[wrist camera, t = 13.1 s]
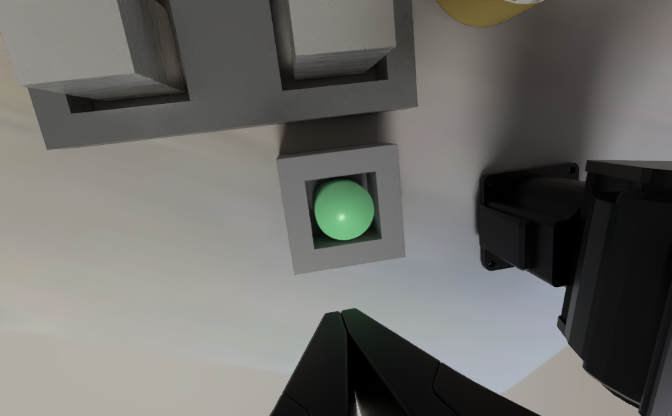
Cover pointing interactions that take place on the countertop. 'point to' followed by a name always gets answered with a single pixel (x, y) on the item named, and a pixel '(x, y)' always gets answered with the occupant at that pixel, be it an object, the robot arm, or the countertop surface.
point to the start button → (342, 208)
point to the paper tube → (485, 10)
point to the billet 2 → (338, 35)
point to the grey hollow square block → (366, 170)
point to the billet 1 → (92, 47)
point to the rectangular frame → (231, 83)
